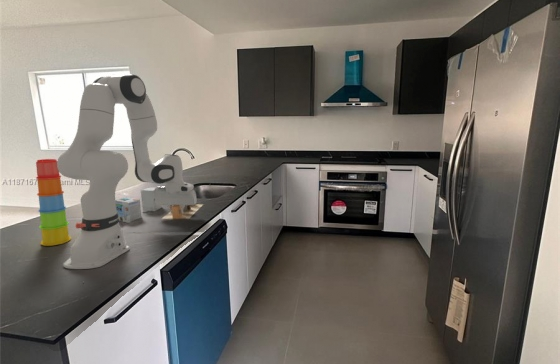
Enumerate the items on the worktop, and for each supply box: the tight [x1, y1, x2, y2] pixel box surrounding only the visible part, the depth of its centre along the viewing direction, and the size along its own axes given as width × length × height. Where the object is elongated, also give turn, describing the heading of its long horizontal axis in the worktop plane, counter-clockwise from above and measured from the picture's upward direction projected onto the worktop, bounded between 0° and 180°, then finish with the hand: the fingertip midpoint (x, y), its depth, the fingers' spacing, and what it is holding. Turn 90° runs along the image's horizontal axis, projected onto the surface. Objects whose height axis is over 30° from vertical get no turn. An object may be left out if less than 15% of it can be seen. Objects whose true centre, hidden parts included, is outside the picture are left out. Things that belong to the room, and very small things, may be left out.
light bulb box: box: [115, 196, 143, 224], centre depth 151 cm, size 11×7×11 cm, turn 62°
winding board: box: [161, 203, 205, 220], centre depth 161 cm, size 26×14×10 cm, turn 178°
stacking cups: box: [35, 158, 72, 247], centre depth 122 cm, size 10×10×35 cm
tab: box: [171, 205, 182, 218], centre depth 152 cm, size 5×3×6 cm, turn 178°
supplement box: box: [140, 187, 163, 214], centre depth 165 cm, size 7×7×13 cm
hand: (177, 213), depth 152 cm, fingers closed on tab, 3 cm apart
